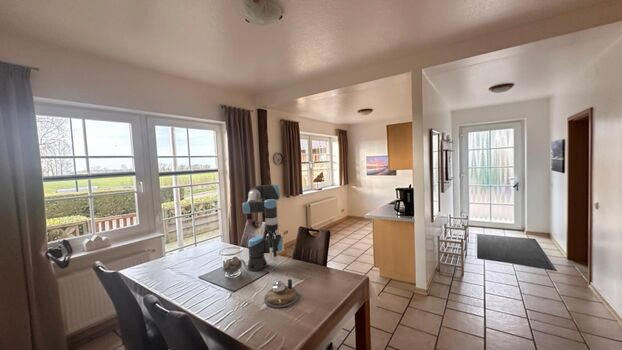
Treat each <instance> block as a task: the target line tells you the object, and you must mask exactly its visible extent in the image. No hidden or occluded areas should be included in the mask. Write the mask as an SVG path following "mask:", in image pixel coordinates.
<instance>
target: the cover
mask: <svg viewBox="0 0 622 350" xmlns="http://www.w3.org/2000/svg"><path fill="white" fill-rule="evenodd" d="M271 287H272V288H271V289H272V290H273V293H275V294H281V293H283V292H285V291H286V283H285V282H282V281H281V280H278V281H276V282H275V283H273V284H272V286H271Z"/></svg>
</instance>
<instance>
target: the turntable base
mask: <svg viewBox="0 0 622 350" xmlns="http://www.w3.org/2000/svg"><path fill="white" fill-rule="evenodd" d="M296 294H297V296H296V298H295V299H294V300H293V301H292V302H290V303H287V304H283V305H273V304H270V303H268V302H267V300H266V295H265V296H264V298H263V300H264V304H265V305H266V306H267V307H269V308H272V309H283V308H289V307H291V306H293V305H294V304H296V303H297V302H298V300H299V294H298V292H297V291H296Z"/></svg>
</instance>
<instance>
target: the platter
mask: <svg viewBox="0 0 622 350" xmlns="http://www.w3.org/2000/svg"><path fill="white" fill-rule="evenodd" d="M296 292H297V290H296V288H294V287H293V280H292V278H289V279H288V280H287V286H286V291H285V292H283V293H281V294H275V293H273V290H272V288H271V289H270V290H268V291H267V292H266V293H265V296H266V300H267V302H268V303H270V304H273V305H283V304H287V303H290V302H292V301H293V300H294V299H295V298H296V296H297V294H296Z"/></svg>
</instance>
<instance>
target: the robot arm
mask: <svg viewBox="0 0 622 350" xmlns="http://www.w3.org/2000/svg"><path fill="white" fill-rule="evenodd" d="M247 197H248V198H247V201H246V202H245V201H244V202H242V213H243V214H248V215H249V214H259V213H264V217H265V219H264V222H265V230H266V231H267V234H266V235H265V237H264V236H262V235H259V236H253V237H251V238H250V239H248V241H247V242H248V245H247V247H248V262H247V270H248V271H250V272H259V271H262V270H265V269H266V268H267V267H268V262H267V260H266V257H265V254H269V258H270V259H271V258H272V262H273V263H275V262H278V253H280V252H282V250H283V239H284V238H283V236H282V235H281V233H280V232H279V231H280V230H279V217H278V216H279V215H278V202H279V199H281V194H280V189H279V185H278V184H263V185H261V184H260V185H256V186H254V187H252V188H251V189H250V190H249V191H248V194H247ZM260 200H262V201H260Z"/></svg>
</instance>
